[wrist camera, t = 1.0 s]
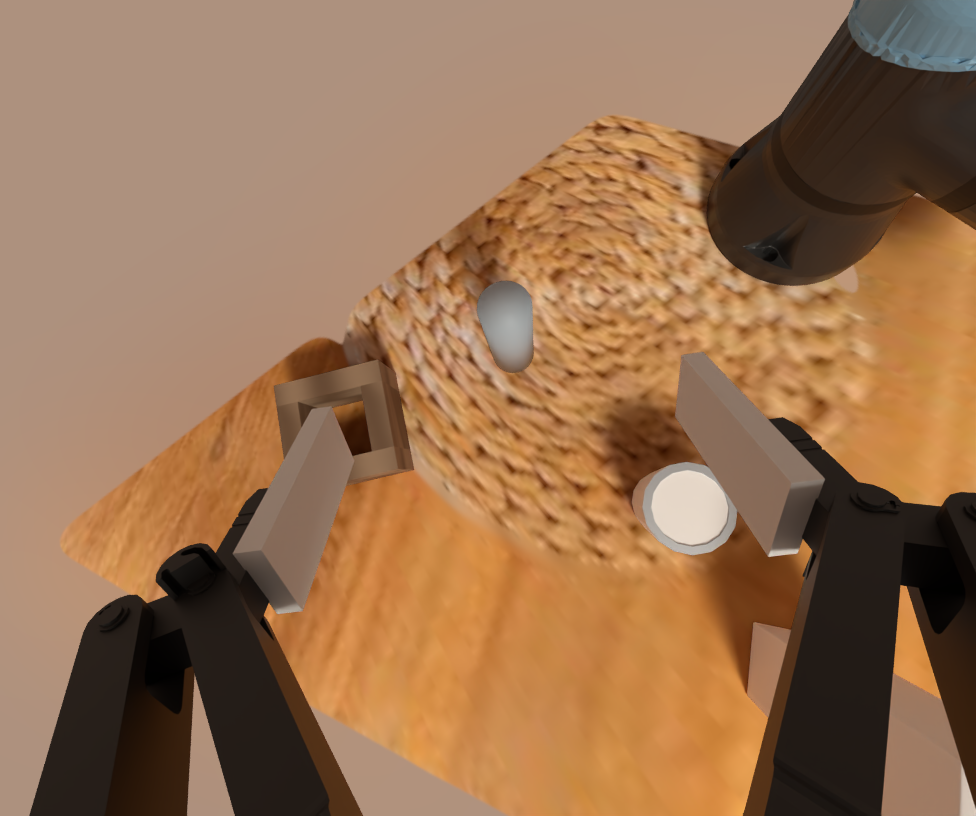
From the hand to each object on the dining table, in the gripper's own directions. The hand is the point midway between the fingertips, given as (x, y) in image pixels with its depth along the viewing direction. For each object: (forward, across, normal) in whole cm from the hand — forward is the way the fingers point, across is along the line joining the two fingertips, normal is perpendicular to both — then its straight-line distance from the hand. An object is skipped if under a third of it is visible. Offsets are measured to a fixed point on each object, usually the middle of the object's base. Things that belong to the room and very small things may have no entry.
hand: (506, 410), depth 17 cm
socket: (+22, -16, -15) cm, 31 cm away
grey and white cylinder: (+14, +12, -22) cm, 29 cm away
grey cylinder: (+25, +1, -10) cm, 27 cm away
